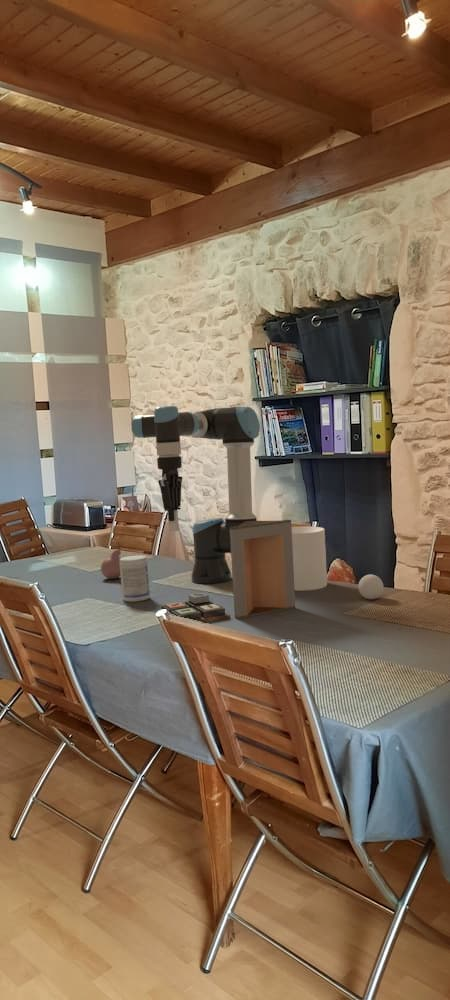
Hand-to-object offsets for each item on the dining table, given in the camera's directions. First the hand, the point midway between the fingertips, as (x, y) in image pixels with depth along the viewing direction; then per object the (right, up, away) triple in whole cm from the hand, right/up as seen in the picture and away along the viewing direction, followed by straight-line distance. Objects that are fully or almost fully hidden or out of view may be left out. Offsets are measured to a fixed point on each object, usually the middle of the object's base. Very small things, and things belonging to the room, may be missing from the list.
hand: (174, 530), depth 239 cm
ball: (+63, -22, +6) cm, 68 cm away
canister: (+44, -21, +31) cm, 58 cm away
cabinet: (+27, -25, 0) cm, 37 cm away
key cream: (+12, -25, -6) cm, 28 cm away
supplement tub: (-15, -25, +25) cm, 38 cm away
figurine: (-28, -22, +64) cm, 73 cm away
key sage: (+4, -26, -9) cm, 28 cm away
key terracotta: (+1, -25, -1) cm, 25 cm away
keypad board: (+6, -26, -3) cm, 27 cm away
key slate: (+8, -22, +2) cm, 24 cm away
